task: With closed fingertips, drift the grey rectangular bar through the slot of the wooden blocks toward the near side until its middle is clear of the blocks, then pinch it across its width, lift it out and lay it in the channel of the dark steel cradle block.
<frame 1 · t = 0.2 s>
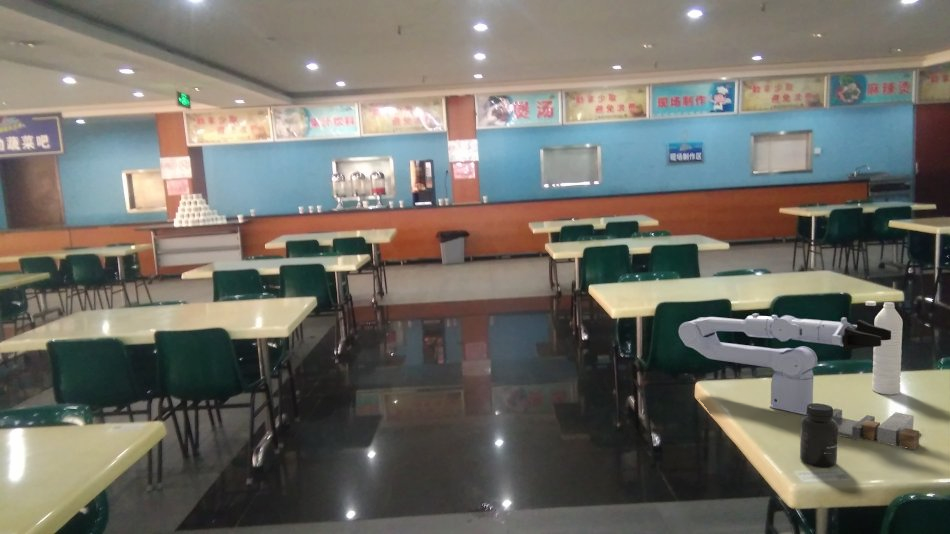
hand: (885, 338, 148), 21 cm above the table, tool horizontal, fingers open, 7 cm apart
wooden blocks: (889, 440, 142), on the table
cradle block: (846, 429, 150), on the table
grey rectangular bar: (895, 436, 145), on the table
supplement bottle: (818, 462, 133), on the table
water bottle: (881, 391, 176), on the table
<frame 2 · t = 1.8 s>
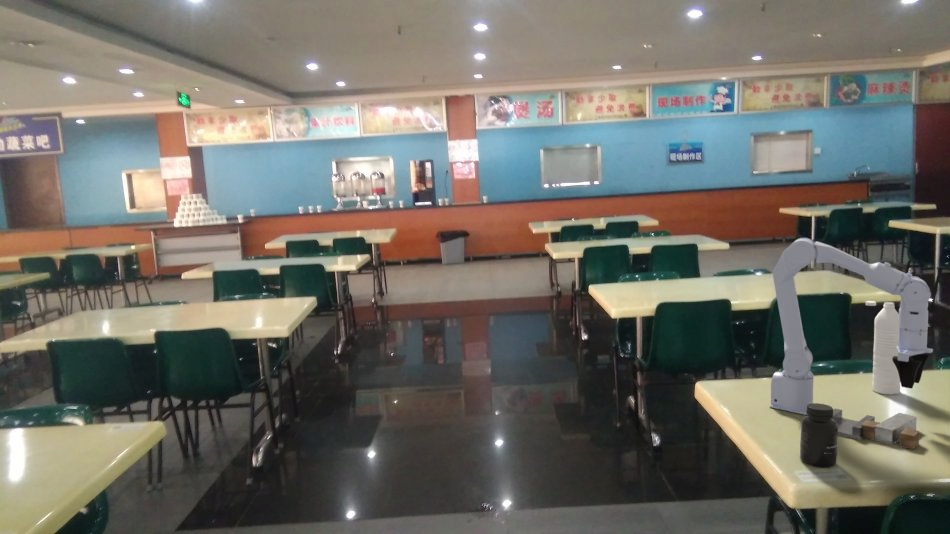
hand: (910, 384, 151), 9 cm above the table, tool pointing down, fingers open, 5 cm apart
nothing on the table moved.
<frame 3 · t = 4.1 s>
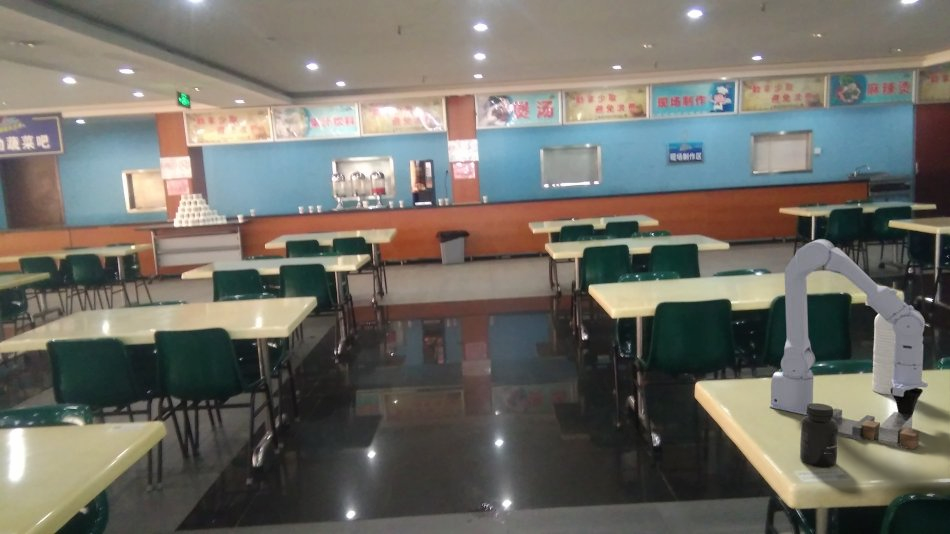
hand: (905, 418, 150), 2 cm above the table, tool pointing down, fingers closed
grey rectangular bar: (895, 435, 145), on the table, touching gripper
everything else where it was.
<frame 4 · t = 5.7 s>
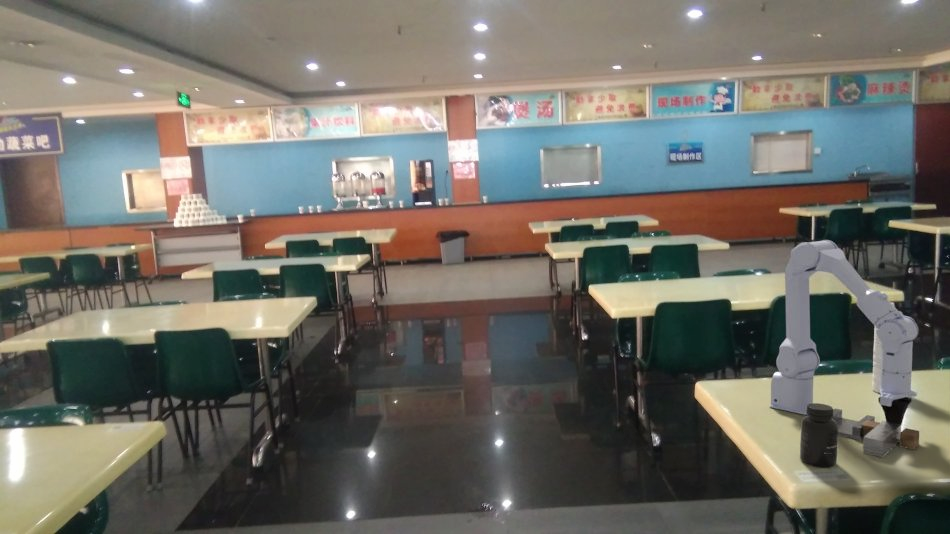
hand: (893, 428, 144), 2 cm above the table, tool pointing down, fingers closed
grey rectangular bar: (882, 446, 139), on the table, touching gripper
everything else where it was.
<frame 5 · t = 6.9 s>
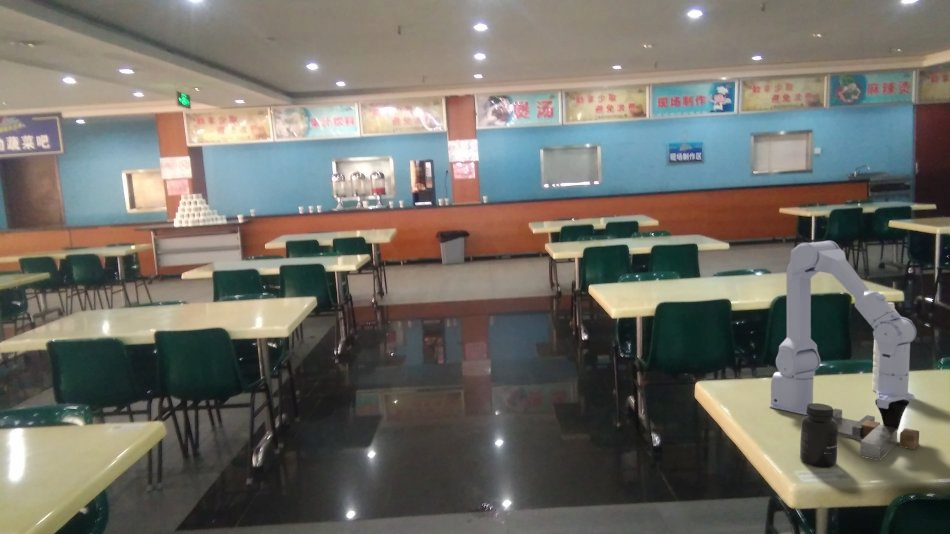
hand: (891, 431, 143), 2 cm above the table, tool pointing down, fingers closed
grey rectangular bar: (878, 450, 138), on the table
everything else where it was.
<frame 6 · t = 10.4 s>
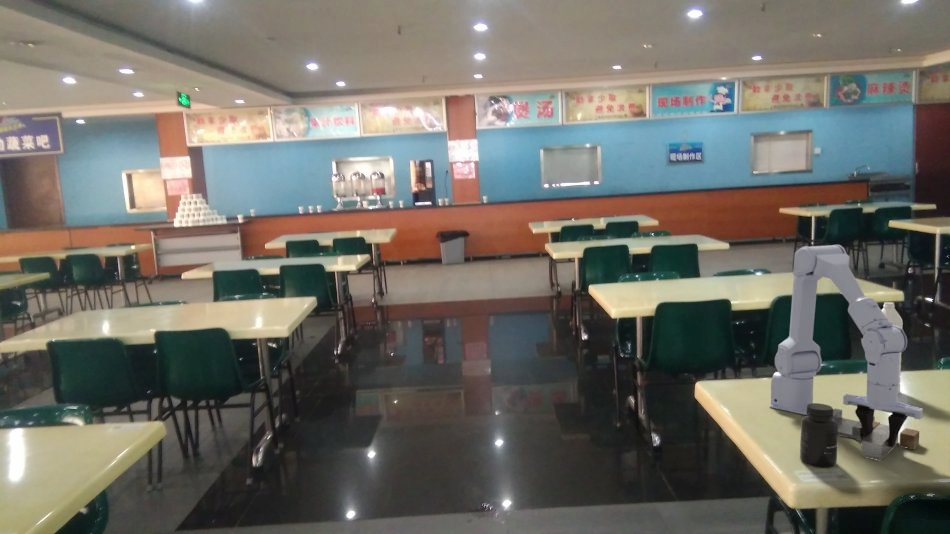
hand: (880, 442, 138), 1 cm above the table, tool pointing down, fingers closed on grey rectangular bar, 4 cm apart
grey rectangular bar: (879, 449, 138), on the table, touching gripper
everything else where it was.
when the fingers open (4 cm above the table, at t = 14.1 s): grey rectangular bar stays where it is, resting on cradle block.
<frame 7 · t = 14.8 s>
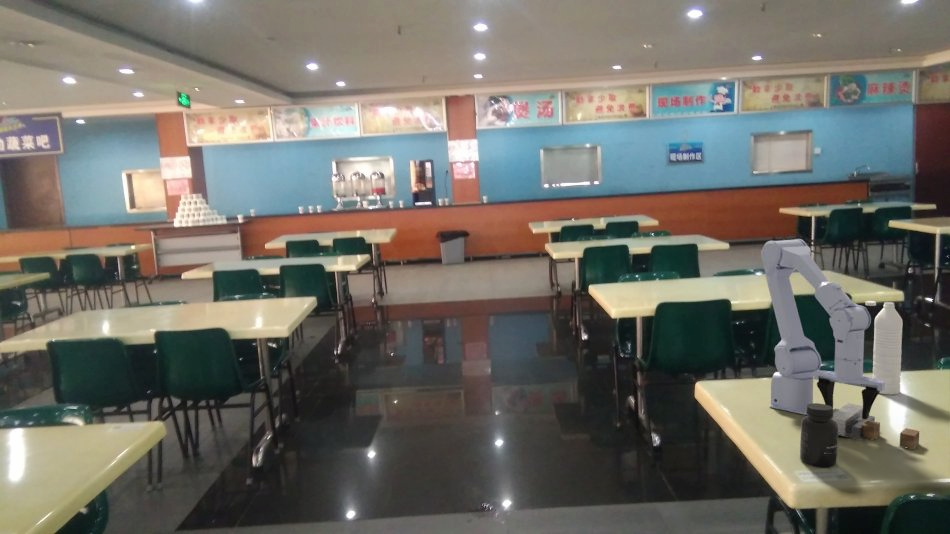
hand: (847, 414, 149), 4 cm above the table, tool pointing down, fingers open, 7 cm apart
grey rectangular bar: (846, 426, 149), point 1 cm above the table, touching cradle block
everything else where it was.
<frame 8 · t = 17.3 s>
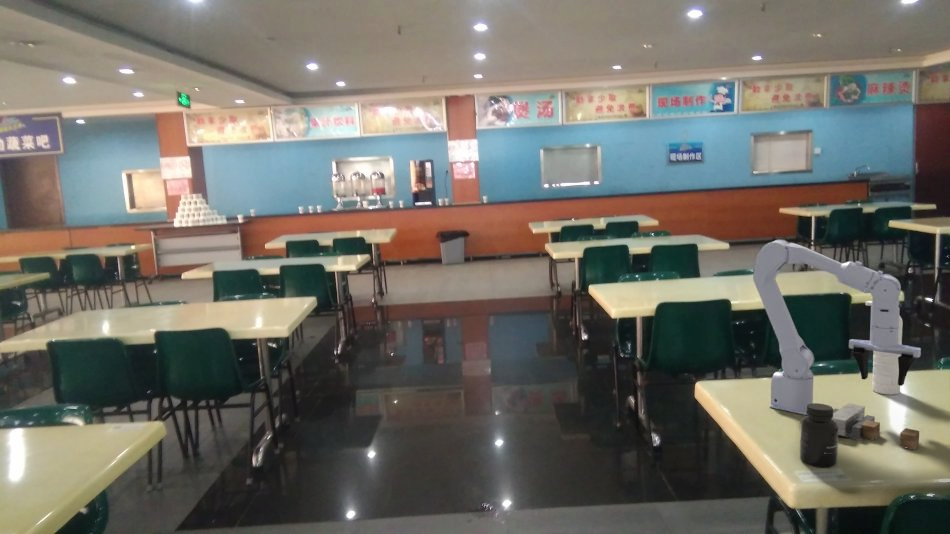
hand: (882, 381, 153), 10 cm above the table, tool pointing down, fingers open, 7 cm apart
nothing on the table moved.
at the end: grey rectangular bar 0.3 cm off-centre on the cradle block, point 0.8 cm above the cradle block's base; grey rectangular bar touching cradle block; the gripper is holding nothing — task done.
